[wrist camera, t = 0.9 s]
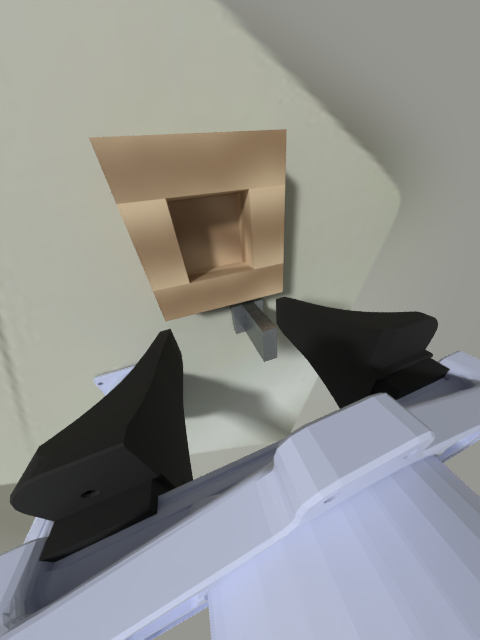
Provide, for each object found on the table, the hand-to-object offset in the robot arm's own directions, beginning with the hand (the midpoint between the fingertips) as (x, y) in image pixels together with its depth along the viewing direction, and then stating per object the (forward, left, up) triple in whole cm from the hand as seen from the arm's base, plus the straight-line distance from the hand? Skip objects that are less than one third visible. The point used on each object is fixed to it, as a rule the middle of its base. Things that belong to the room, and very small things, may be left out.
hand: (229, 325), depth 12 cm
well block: (+5, -1, -10) cm, 11 cm away
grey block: (-5, -4, -10) cm, 12 cm away
